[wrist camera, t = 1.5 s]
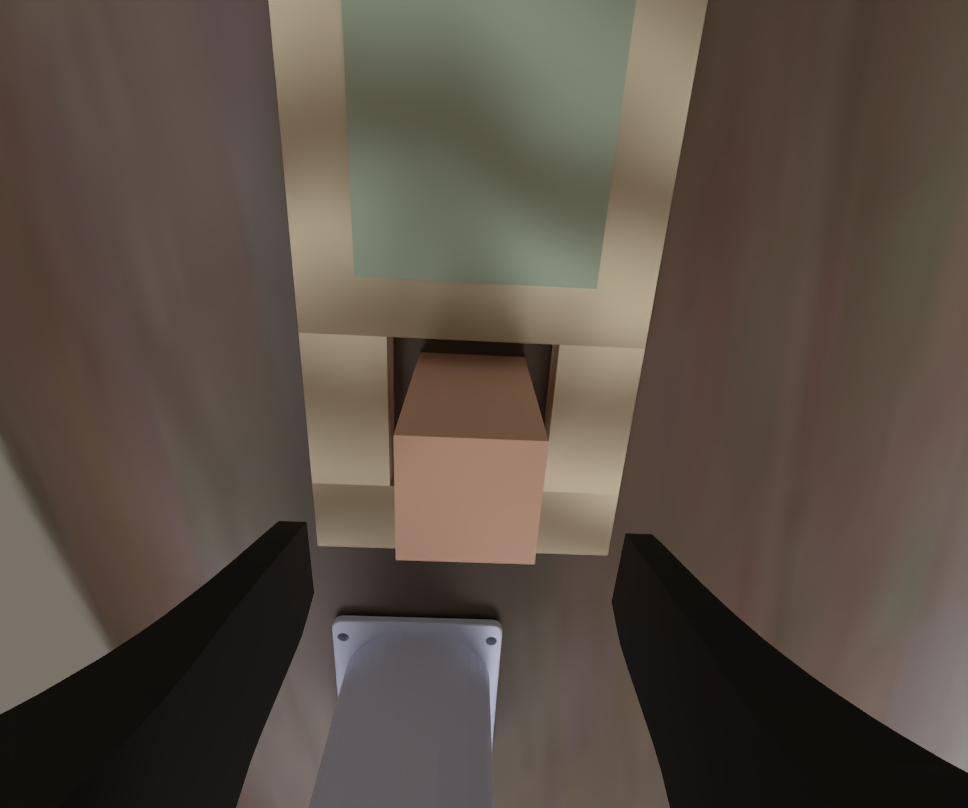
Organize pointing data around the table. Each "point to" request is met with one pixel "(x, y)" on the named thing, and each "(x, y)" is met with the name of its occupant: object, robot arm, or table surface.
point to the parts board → (478, 221)
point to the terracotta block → (469, 461)
